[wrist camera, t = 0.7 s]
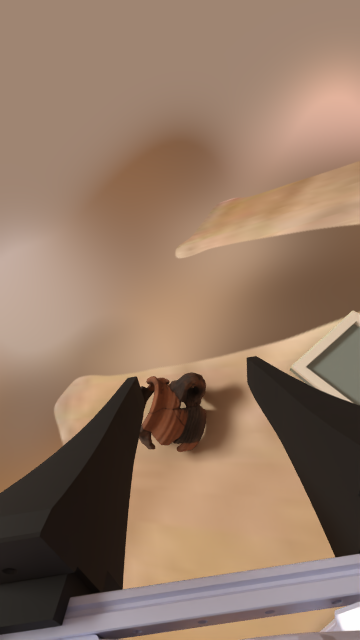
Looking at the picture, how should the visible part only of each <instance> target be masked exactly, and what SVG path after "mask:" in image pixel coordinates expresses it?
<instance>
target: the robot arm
mask: <svg viewBox="0 0 360 640" xmlns="http://www.w3.org/2000/svg"><path fill="white" fill-rule="evenodd" d="M247 382H248V385H249V387H250V390H251V392H252V394H253V396H254V398H255V400H256V401H257V403H258V405H259V406H260V408H261V409H262V411H263V413H264V414H265V416H266V417H267V419H268V421H269V422H270V424H271V425H272V427H273V429H274V430H275V432H276V433H277V435H278V437H279V439H280V440H281V442H282V444H283V446H284V448H285V450H286V452H287V454H288V456H289V458H290V460H291V462H292V464H293V466H294V468H295V470H296V472H297V474H298V476H299V478H300V480H301V482H302V484H303V486H304V489H305V491H306V493H307V495H308V497H309V499H310V501H311V503H312V506H313V508H314V510H315V512H316V514H317V516H318V519H319V521H320V523H321V525H322V528H323V530H324V532H325V534H326V537H327V539H328V541H329V543H330V546H331V548H332V550H333V553H334V555H335V558H328V559H322V560H315V561H309V562H302V563H295V564H289V565H282V566H275V567H269V568H262V569H255V570H249V571H242V572H236V573H229V574H222V575H216V576H209V577H202V578H196V579H189V580H183V581H176V582H169V583H163V584H156V585H149V586H143V587H136V588H129V589H123V573H124V558H125V544H126V532H127V520H128V509H129V499H130V490H131V481H132V473H133V465H134V459H135V453H136V449H137V444H138V439H139V434H140V430H141V425H142V420H143V412H144V397H143V394H142V391H141V388H140V385H139V382H138V379H137V377H131V378H127V380H126V381H125V382H124V383H123V384H122V385H121V387H120V388H119V389H118V390H117V392H116V393H115V394H114V395H113V396H112V398H111V399H110V400H109V401H108V402H107V404H106V405H105V406H104V407H103V408H102V409H101V410H100V411H99V412H98V413H97V415H96V416H95V417H94V418H93V419H92V420H91V421H90V422H89V423H88V424H87V425H86V426H85V427H84V428H83V429H82V430H81V431H80V432H79V433H77V434H76V435H75V436H74V437H73V438H72V439H71V440H70V441H68V442H67V443H66V444H65V445H64V446H63V447H61V448H60V449H59V450H58V451H57V452H56V453H54V454H53V455H52V456H51V457H49V458H48V459H47V460H46V461H44V462H43V463H42V464H40V465H39V466H38V467H36V468H35V469H34V470H32V471H31V472H30V473H28V474H27V475H26V476H25V477H23V478H22V479H20V480H19V481H17V482H16V483H14V484H13V485H11V486H10V487H9V488H7V489H6V490H4V491H3V492H1V493H0V640H118V639H121V638H128V637H135V636H142V635H149V634H155V633H162V632H169V631H176V630H183V629H190V628H196V627H203V626H210V625H217V624H224V623H231V622H237V621H244V620H251V619H258V618H265V617H272V616H278V615H285V614H292V613H299V612H306V611H313V610H320V609H326V608H333V607H340V606H346V607H343V608H340V609H338V610H335V618H334V619H333V620H332V621H331V622H330V623H329V624H328V625H327V626H326V627H324V628H323V629H322V630H321V631H320V632H312V633H297V634H284V635H274V636H265V637H256V638H249V639H242V640H360V405H357V404H354V403H352V402H349V401H346V400H343V399H341V398H338V397H335V396H333V395H330V394H328V393H326V392H323V391H321V390H319V389H316V388H314V387H312V386H310V385H308V384H306V383H304V382H302V381H300V380H298V379H296V378H294V377H292V376H290V375H288V374H286V373H284V372H283V371H281V370H279V369H277V368H276V367H274V366H272V365H270V364H269V363H267V362H265V361H264V360H262V359H260V358H258V357H257V356H254V357H249V358H247ZM347 605H349V606H347Z"/></svg>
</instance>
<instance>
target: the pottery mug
mask: <svg viewBox="0 0 360 640" xmlns="http://www.w3.org/2000/svg"><path fill="white" fill-rule="evenodd" d="M146 382H147V384H150V385H149V386H148V388H145V387H143V386H141V387H140V388H141V391H142V394H143V397H144V409H145V405H146V402H147V400H148V399H149V397H150V396H151V395H152V393H153V392H154V398H153V402H152V406H151V408H150V412H149V413H148V415H147V417H146V419H145V421H144V422H143V424H142V425H141V430H140V434H139V439H140V440H141V442H142V443H143V444H144V445H145V446H146V447H147V448H148V449H155V445H154V444H153V443H152V440H151V433H152V435H153V436H154V437H155V438H156V440H157V441H158V442H159V443H160V444H161V445H169V444H170V443H172V442H174V443H177V444H179V443H182V444H181V445H180V446H178V447H177V451H178V452H183V451H186V450H187V451H189V450H191V449H193V448H194V447H195V446H196V445H197V444H198V442H199V441H200V439H201V437H202V435H203V433H204V429H205V424H206V412H205V409H203V408H202V407H201V406H200V403H201V399H202V397H203V396H204V394H205V390H206V383H205V380H204V379H203V377H202V376H201V375H199V374H196V373H187V374H185V375H183V376H182V377H181V378H180V379H178V380H176V381H172V382H171V384H170V387H169V386H168V385H167V384H168V383H169V380H167V379H165V378H156V377H154V376H153V377H150V378H148V379H147V381H146ZM181 402H184V403H185V405H186V408H180V406H181Z"/></svg>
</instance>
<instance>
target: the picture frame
mask: <svg viewBox="0 0 360 640" xmlns="http://www.w3.org/2000/svg"><path fill="white" fill-rule="evenodd" d="M290 370H291V371H292V372H293V373H294V374H295V375H297V376H298V377H299V378H300V379H302V380H303V381H304V382H305V383H306V384H308V385H310V386H312V387H314V388H316V389H319V390H321V391H323V392H326V393H328V394H330V395H333V396H335V397H338V398H341V399H343V400H346V401H349V402H352V403H354V404H357V405H360V314H359V313H357V312H354V311H352V312H351V313H350V314H349V315H347V316H346V317H345V318H344V319H343V320H342V321H341V322H340V323H338V324H337V325H336V326H335V327H334V328H333V329H332V330H331V331H330V332H328V333H327V334H326V335H325V336H324V337H323V338H322V339H321V340H320V341H319V342H317V343H316V344H315V345H314V346H313V347H312V348H311V349H310V350H309V351H307V352H306V353H305V354H304V355H303V356H302V357H301V358H300V359H299V360H297V361H296V362H295V363H294V364H293V365H292V366H291V368H290Z"/></svg>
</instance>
